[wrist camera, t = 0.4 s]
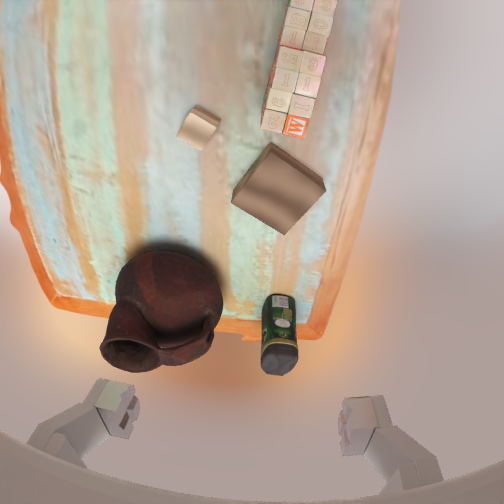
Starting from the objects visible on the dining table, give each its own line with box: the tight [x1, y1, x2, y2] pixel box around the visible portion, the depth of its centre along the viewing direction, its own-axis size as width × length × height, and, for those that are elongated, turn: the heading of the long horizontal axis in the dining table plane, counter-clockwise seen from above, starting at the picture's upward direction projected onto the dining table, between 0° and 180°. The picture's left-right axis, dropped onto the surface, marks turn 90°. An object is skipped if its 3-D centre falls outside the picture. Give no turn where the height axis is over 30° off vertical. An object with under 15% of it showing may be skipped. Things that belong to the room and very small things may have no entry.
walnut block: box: [231, 142, 326, 235], centre depth 57 cm, size 12×12×5 cm
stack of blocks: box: [260, 0, 338, 139], centre depth 39 cm, size 21×6×12 cm, turn 168°
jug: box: [100, 251, 223, 373], centre depth 66 cm, size 25×25×25 cm
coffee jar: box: [261, 295, 298, 376], centre depth 74 cm, size 10×8×19 cm
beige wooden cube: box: [176, 105, 221, 151], centre depth 51 cm, size 5×5×5 cm
